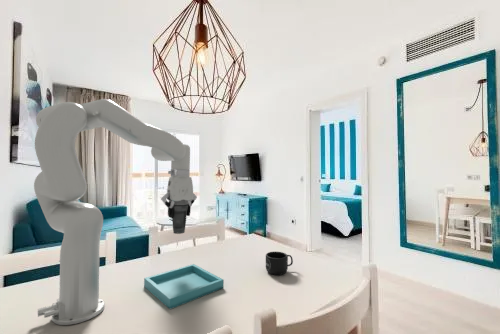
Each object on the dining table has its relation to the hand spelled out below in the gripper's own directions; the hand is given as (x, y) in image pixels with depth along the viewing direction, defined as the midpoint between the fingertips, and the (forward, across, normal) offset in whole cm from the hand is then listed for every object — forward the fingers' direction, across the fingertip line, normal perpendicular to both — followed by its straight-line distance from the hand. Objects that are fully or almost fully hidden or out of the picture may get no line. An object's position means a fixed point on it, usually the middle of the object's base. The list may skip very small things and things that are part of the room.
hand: (179, 216), depth 106 cm
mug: (+22, +29, -30) cm, 48 cm away
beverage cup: (+7, 0, 0) cm, 7 cm away
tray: (+22, -6, -16) cm, 28 cm away
